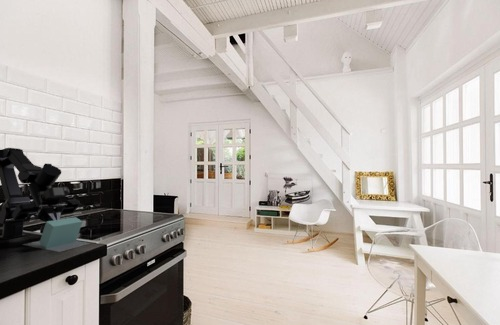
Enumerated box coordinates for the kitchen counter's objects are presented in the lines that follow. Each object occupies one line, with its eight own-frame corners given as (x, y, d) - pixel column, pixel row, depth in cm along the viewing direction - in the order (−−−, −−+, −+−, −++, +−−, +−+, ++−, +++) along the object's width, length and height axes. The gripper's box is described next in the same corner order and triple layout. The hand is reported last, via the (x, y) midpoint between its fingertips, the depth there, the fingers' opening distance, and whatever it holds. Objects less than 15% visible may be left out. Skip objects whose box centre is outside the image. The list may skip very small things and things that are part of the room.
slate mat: (22, 246, 80) (22, 244, 80) (55, 239, 90) (55, 237, 90) (59, 254, 74) (59, 251, 74) (90, 245, 84) (90, 243, 84)
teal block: (39, 243, 78) (46, 221, 78) (69, 236, 87) (75, 217, 87) (46, 248, 77) (53, 226, 76) (76, 241, 86) (82, 221, 85)
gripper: (20, 179, 77) (36, 215, 72) (79, 179, 94) (95, 208, 89) (5, 202, 79) (20, 238, 74) (65, 198, 96) (81, 227, 91)
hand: (58, 226), depth 82 cm, fingers closed
